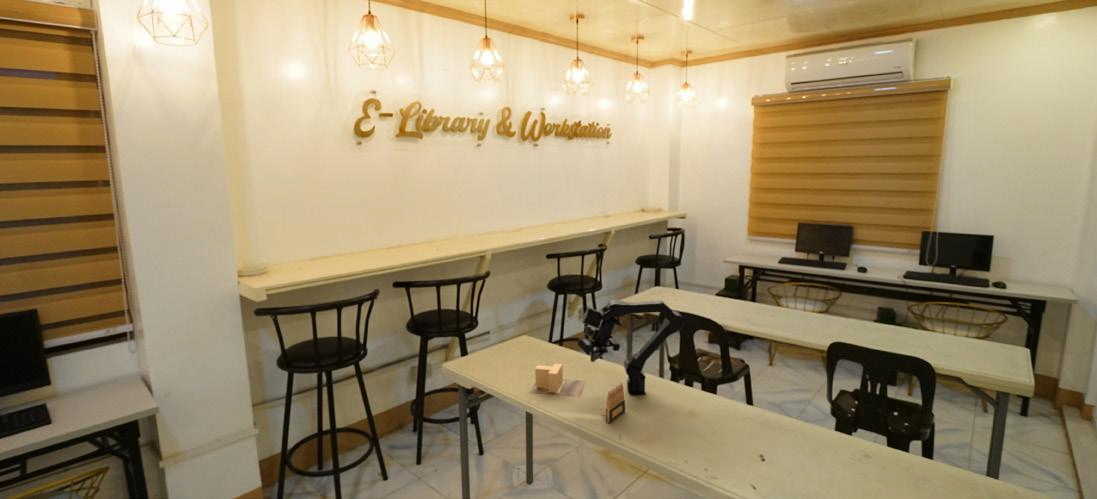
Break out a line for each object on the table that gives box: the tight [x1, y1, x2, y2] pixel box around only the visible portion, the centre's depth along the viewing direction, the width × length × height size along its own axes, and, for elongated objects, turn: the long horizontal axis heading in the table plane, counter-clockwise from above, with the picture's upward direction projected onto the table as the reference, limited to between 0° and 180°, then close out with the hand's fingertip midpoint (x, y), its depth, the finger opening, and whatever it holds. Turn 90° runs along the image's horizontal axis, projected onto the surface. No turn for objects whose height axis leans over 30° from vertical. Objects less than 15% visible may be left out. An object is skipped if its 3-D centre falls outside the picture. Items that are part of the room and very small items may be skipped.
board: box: [529, 378, 587, 398], centre depth 217 cm, size 21×15×2 cm
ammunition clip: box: [605, 382, 626, 424], centre depth 192 cm, size 11×2×12 cm, turn 140°
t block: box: [534, 363, 564, 392], centre depth 217 cm, size 10×10×8 cm
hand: (591, 361), depth 214 cm, fingers closed
